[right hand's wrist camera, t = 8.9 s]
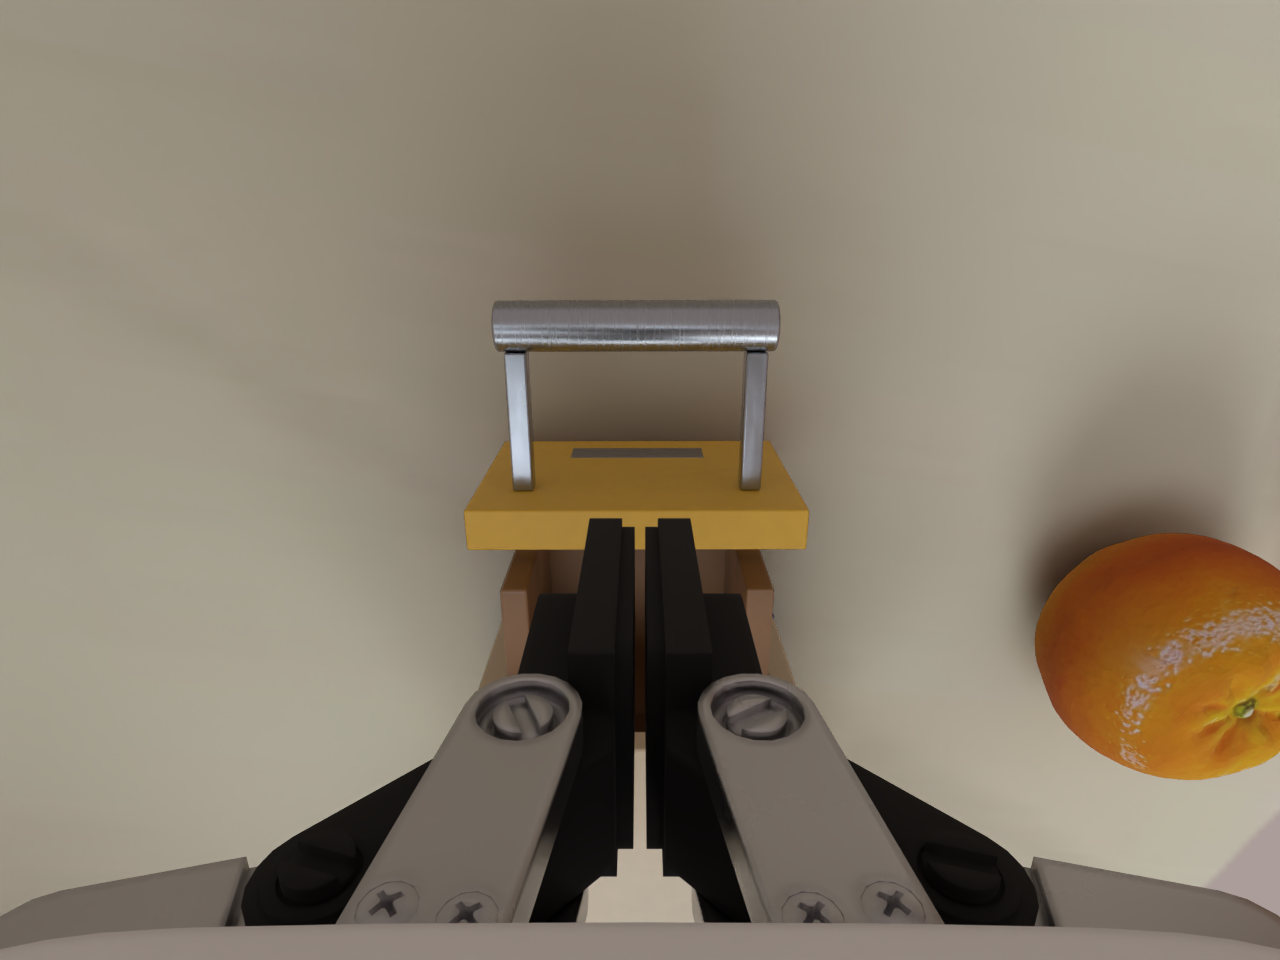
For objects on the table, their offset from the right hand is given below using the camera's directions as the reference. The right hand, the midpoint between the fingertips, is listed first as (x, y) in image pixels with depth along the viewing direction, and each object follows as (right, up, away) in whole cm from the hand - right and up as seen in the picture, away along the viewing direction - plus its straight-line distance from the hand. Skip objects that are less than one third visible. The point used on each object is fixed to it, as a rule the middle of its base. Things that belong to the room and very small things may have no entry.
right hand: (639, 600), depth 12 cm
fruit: (+19, -3, +17) cm, 26 cm away
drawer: (0, 0, +15) cm, 15 cm away
